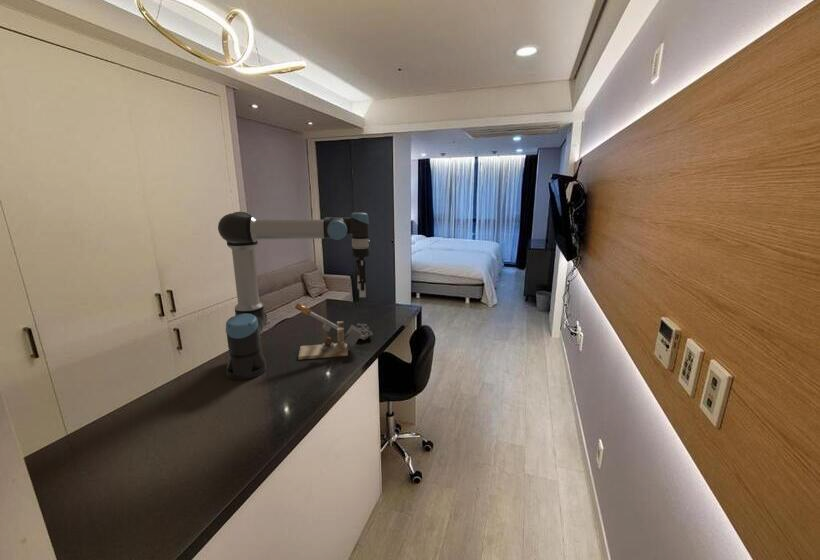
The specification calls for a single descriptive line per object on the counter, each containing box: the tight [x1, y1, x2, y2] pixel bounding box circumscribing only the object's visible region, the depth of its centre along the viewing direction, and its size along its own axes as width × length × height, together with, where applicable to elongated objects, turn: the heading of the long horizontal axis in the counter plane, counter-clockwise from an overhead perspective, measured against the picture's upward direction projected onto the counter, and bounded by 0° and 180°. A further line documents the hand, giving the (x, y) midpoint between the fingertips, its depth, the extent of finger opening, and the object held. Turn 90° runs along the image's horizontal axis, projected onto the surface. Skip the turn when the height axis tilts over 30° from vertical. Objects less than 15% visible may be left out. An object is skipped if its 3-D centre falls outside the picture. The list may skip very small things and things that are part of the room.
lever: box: [294, 302, 361, 348], centre depth 158 cm, size 32×6×8 cm
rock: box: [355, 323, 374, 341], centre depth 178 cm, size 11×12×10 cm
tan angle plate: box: [297, 320, 349, 360], centre depth 160 cm, size 22×11×13 cm, turn 102°
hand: (361, 292), depth 159 cm, fingers open, 13 cm apart
